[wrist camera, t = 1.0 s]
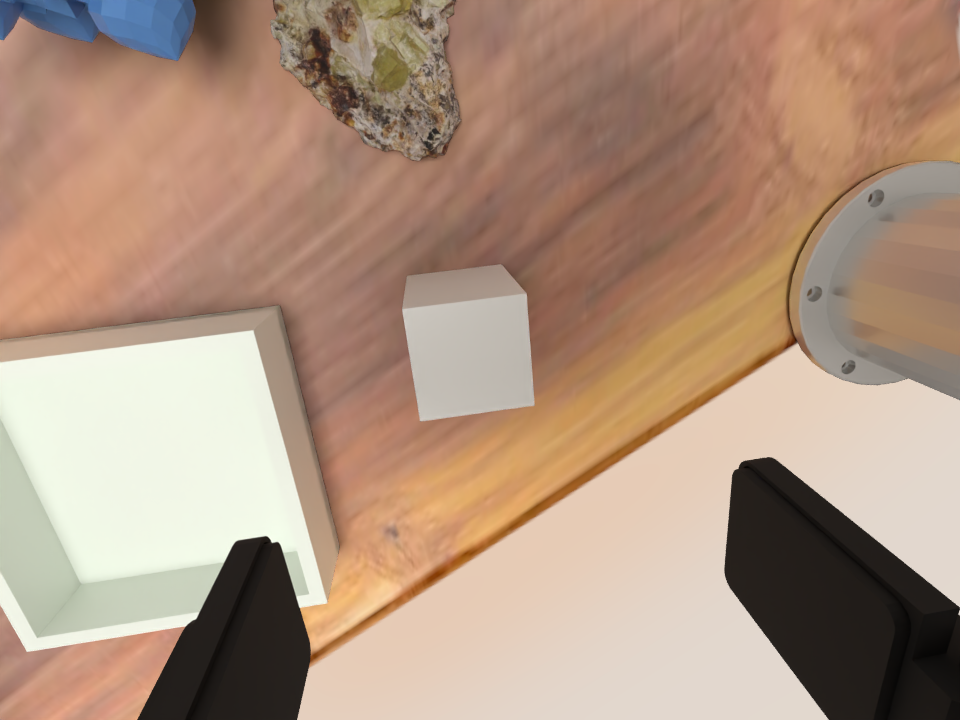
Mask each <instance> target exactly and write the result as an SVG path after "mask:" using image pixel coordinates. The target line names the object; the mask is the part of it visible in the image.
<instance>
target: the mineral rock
mask: <svg viewBox="0 0 960 720" xmlns="http://www.w3.org/2000/svg"><path fill="white" fill-rule="evenodd" d="M454 2H455V0H273V5H274V9H275V12H276V14H277V16H276V19H275V20H270V21H271V32H272V35H273V37H274V39H276V38H278V40H279V41H280V44H281V57H280V64H281V66H282V67H283V68H284V69H285V70H288V71H290V72H291V73H292V74H293V75H294V76H295V77H296V78H297V79H298V80H299V82H300V83H301V84H302V85H303V86H304V87H307V88H308V89H309V90H310V91H311V92H312V94H313V96H314V97H315V98H316V99H317V100H319V102H320V104H321V105H323V106H326V107H327V108H328V109H332V111H333V114H334V115H335V117H337V120H340V121H342V122H343V123H345V124H346V125H348V126H354V128H355V129H356V130H357V131H358V132H359V133H360V136H361V139H362V140H363V142H364V143H365V144H367V145H370V146H372V147H374V148H380V149H381V150H382V151H386V152H387V151H389V150H397V151H399V152H400V153H401V154H402V155H404V156H405V157H409V158H410V159H411V160H416V161H420V160H421V158H422V157H428V156H429V157H434V158H437V155H445V153H446V150H447V147H448V143H449V140H450V139H451V138H452V135H453V132H454V130H455V129H456V128H457V126H458V125H459V123H460V121H461V119H460V118H459V116H460V115H459V105H458V101H457V99H456V95H455V92H454V89H453V85H452V81H453V80H452V75H451V74H452V70H451V67H450V65H449V63H448V62H447V60H446V54H445V51H444V46H443V42H445V41H447V38H448V33H449V25H448V24H447V18H448V17H450V16H451V15H453V14H454V9H453V4H454Z"/></svg>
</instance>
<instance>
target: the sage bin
mask: <svg viewBox="0 0 960 720" xmlns="http://www.w3.org/2000/svg"><path fill="white" fill-rule="evenodd" d="M262 536H267V537H269V538H270V540H271V542H272V543H273V542H279V543H280V545H281V547H282V551H283V554H284V557H285V561H286V564H287V567H288V571H289V574H290V577H291V581H292V584H293V587H294V591H295V594H296V598H297V601H298V604H299V608H301V607H307V606H313V605H319V604H325V603H328V598H329V594H330V589H331V585H332V580H333V575H334V571H335V566H336V562H337V557H338V553H339V548H340V546H339V541H338V537H337V533H336V529H335V525H334V521H333V517H332V513H331V509H330V505H329V501H328V497H327V493H326V489H325V485H324V481H323V477H322V473H321V469H320V465H319V461H318V457H317V453H316V449H315V445H314V441H313V437H312V433H311V429H310V425H309V420H308V416H307V412H306V408H305V404H304V400H303V396H302V392H301V388H300V384H299V380H298V376H297V372H296V368H295V364H294V360H293V356H292V352H291V348H290V344H289V340H288V336H287V332H286V328H285V324H284V320H283V316H282V312H281V308H280V305H277V306H269V307H261V308H253V309H245V310H237V311H229V312H221V313H213V314H205V315H197V316H189V317H181V318H173V319H165V320H157V321H149V322H141V323H133V324H125V325H116V326H108V327H100V328H92V329H84V330H76V331H68V332H60V333H52V334H44V335H36V336H28V337H20V338H12V339H4V340H0V605H1V607H2V608H3V610H4V612H5V614H6V615H7V617H8V619H9V621H10V622H11V624H12V626H13V628H14V629H15V631H16V633H17V635H18V637H19V638H20V640H21V642H22V644H23V645H24V647H25V649H26V651H27V652H29V651H35V650H42V649H48V648H54V647H60V646H66V645H72V644H79V643H85V642H91V641H97V640H103V639H109V638H116V637H122V636H128V635H134V634H140V633H146V632H153V631H159V630H165V629H171V628H177V627H183V626H187V624H189V623H190V622H191V621H192V620H196V618H197V616H198V614H199V612H200V610H201V608H202V606H203V604H204V602H205V600H206V598H207V596H208V594H209V592H210V590H211V588H212V586H213V584H214V582H215V580H216V578H217V576H218V574H219V572H220V570H221V568H222V566H223V564H224V562H225V560H226V558H227V556H228V554H229V552H230V550H231V548H232V546H233V544H234V543H235V542H236V541H238V540H243V539H250V538H256V537H262Z"/></svg>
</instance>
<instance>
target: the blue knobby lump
mask: <svg viewBox="0 0 960 720" xmlns="http://www.w3.org/2000/svg"><path fill="white" fill-rule="evenodd" d="M195 16H196V9H195V6H194V3H193V0H0V40H4V39H5V38H6V36H7V35H8V34H9V33H10V31H11V30H12V29H13V28H14V26H15V24H16V22H17V20H18V18H19V17H21V18H23V19H25V20H26V21H28V22H30V23H31V24H33V25H34V26H36V27H38V28H41V29H43V30H46V31H49V32H52V33H56V34H59V35H62V36H65V37H69V38H72V39H76V40H81V41H87V42H93V41H94V39H95V38H96V36H97V35H98V33H99V32H102V33H103V34H105V35H106V36H108V37H109V38H111V39H112V40H114V41H115V42H117V43H118V44H120V45H122V46H125V47H128V48H131V49H134V50H138V51H141V52H144V53H147V54H150V55H153V56H156V57H161V58H166V59H171V60H176V61H178V60H179V58H180V56H181V54H182V52H183V50H184V48H185V46H186V44H187V42H188V40H189V38H190V36H191V34H192V32H193V28H194V22H195Z"/></svg>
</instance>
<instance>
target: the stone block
mask: <svg viewBox="0 0 960 720" xmlns="http://www.w3.org/2000/svg"><path fill="white" fill-rule="evenodd" d="M402 311H403V318H404V324H405V330H406V336H407V342H408V349H409V355H410V361H411V367H412V373H413V380H414V386H415V392H416V398H417V404H418V411H419V417H420V422H421V421H428V420H435V419H442V418H449V417H456V416H463V415H470V414H478V413H485V412H492V411H499V410H506V409H513V408H520V407H527V406H535V404H534V390H533V376H532V362H531V348H530V334H529V321H528V307H527V293H526V292H525V291H524V290H523V289H522V288H521V286H520V285H519V284H518V283H517V282H516V281H515V279H514V278H513V277H512V276H511V275H510V274H509V272H508V271H507V270H506V269H505V268H504V267H503V265H502V264H499V265H491V266H483V267H475V268H467V269H459V270H450V271H442V272H434V273H426V274H418V275H410V276H407V280H406V286H405V293H404V300H403V307H402Z"/></svg>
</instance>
